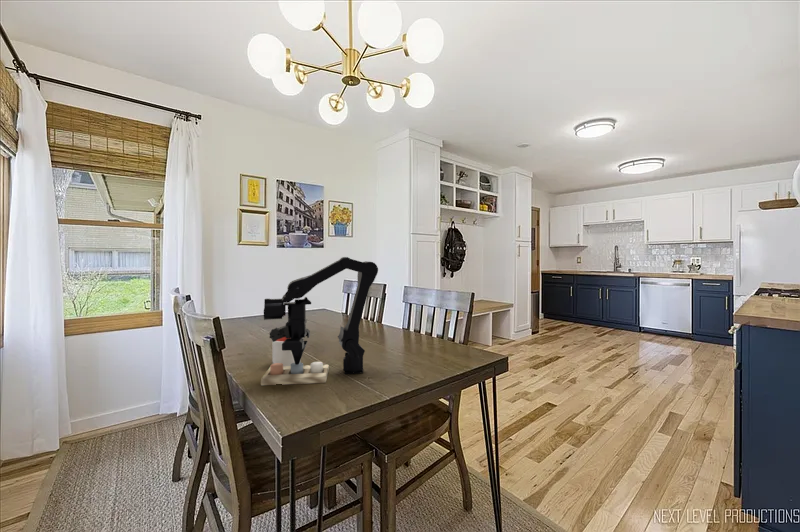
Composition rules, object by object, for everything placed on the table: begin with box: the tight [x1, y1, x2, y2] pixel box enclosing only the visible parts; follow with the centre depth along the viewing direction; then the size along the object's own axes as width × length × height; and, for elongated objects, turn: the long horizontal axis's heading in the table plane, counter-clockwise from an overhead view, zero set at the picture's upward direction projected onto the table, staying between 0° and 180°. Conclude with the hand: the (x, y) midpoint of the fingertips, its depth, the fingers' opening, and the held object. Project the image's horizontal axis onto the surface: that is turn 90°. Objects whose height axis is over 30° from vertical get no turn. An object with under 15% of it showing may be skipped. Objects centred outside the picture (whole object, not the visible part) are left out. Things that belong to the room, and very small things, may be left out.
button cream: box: [310, 361, 324, 373], centre depth 116 cm, size 4×4×4 cm
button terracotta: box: [269, 363, 283, 375], centre depth 114 cm, size 4×4×4 cm
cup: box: [271, 337, 302, 366], centre depth 128 cm, size 10×10×10 cm
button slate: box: [291, 361, 304, 374], centre depth 115 cm, size 4×4×4 cm
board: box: [260, 364, 330, 386], centre depth 115 cm, size 20×12×2 cm, turn 97°
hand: (297, 364), depth 115 cm, fingers closed, pressing on button slate
